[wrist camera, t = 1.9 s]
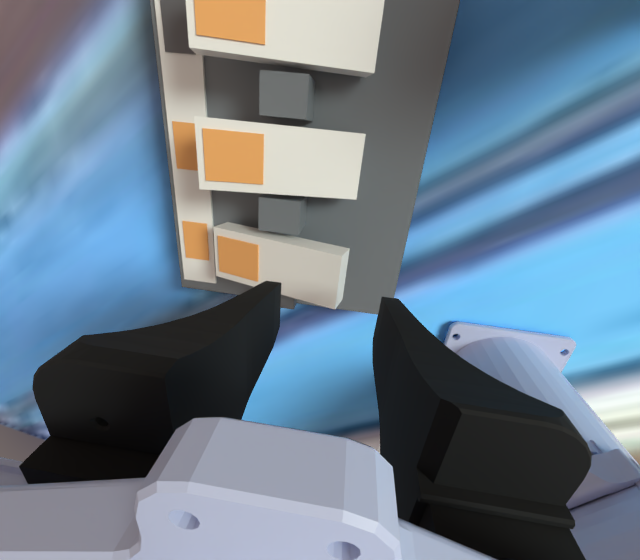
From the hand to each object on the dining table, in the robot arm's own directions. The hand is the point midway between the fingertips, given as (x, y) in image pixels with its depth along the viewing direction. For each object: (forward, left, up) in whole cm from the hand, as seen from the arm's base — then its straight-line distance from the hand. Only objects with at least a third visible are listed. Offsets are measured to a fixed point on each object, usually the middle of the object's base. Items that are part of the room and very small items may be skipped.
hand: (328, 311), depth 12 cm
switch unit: (+5, +3, -8) cm, 10 cm away
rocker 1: (+10, +3, -4) cm, 11 cm away
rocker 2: (0, +3, -4) cm, 5 cm away
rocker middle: (+5, +3, -4) cm, 7 cm away
